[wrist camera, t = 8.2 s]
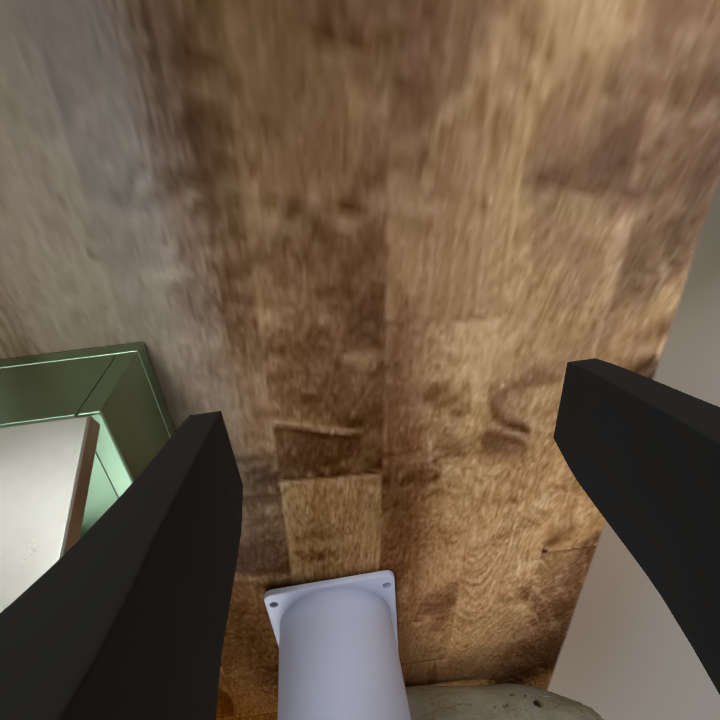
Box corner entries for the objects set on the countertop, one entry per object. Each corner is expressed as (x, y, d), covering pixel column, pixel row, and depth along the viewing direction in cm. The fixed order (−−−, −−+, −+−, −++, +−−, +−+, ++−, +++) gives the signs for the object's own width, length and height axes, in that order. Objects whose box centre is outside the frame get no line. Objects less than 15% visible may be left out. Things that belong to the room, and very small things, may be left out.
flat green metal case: (216, 541, 25) (201, 629, 21) (-25, 579, 24) (-91, 680, 20) (143, 340, 18) (100, 411, 14) (-192, 382, 17) (-342, 471, 13)
